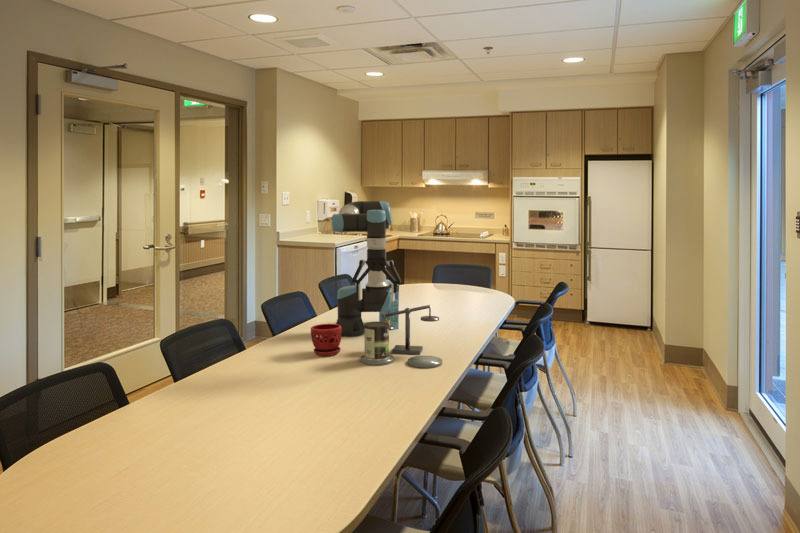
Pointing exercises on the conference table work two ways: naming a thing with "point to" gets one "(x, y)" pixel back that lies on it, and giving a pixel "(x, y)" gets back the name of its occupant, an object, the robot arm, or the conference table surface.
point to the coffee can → (376, 341)
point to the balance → (407, 348)
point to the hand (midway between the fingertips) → (376, 300)
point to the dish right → (425, 361)
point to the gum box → (392, 309)
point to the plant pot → (326, 339)
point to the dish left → (377, 363)
